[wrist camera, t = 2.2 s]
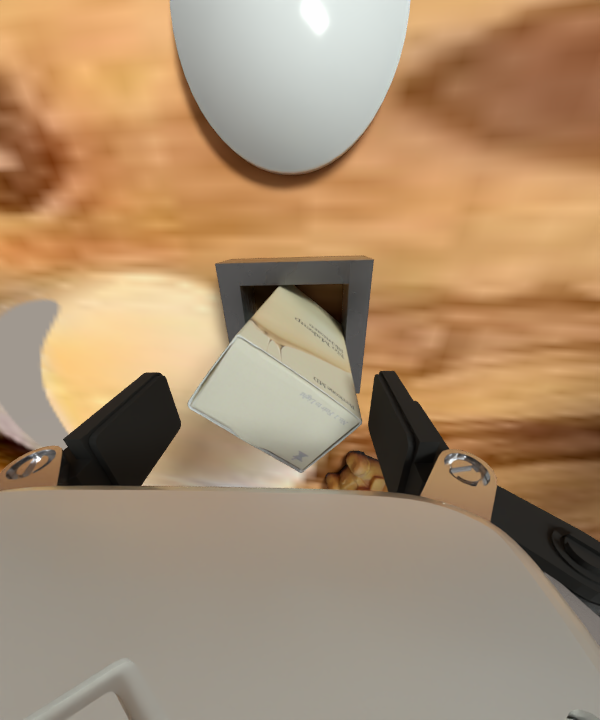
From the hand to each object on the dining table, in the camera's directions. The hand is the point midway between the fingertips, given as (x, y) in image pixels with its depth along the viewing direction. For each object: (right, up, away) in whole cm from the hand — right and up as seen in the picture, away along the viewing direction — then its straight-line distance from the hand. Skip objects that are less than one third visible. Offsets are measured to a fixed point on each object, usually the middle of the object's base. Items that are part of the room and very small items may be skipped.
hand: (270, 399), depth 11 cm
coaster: (+1, +19, +2) cm, 19 cm away
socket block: (+1, +5, +10) cm, 11 cm away
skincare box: (+1, +5, +10) cm, 11 cm away
